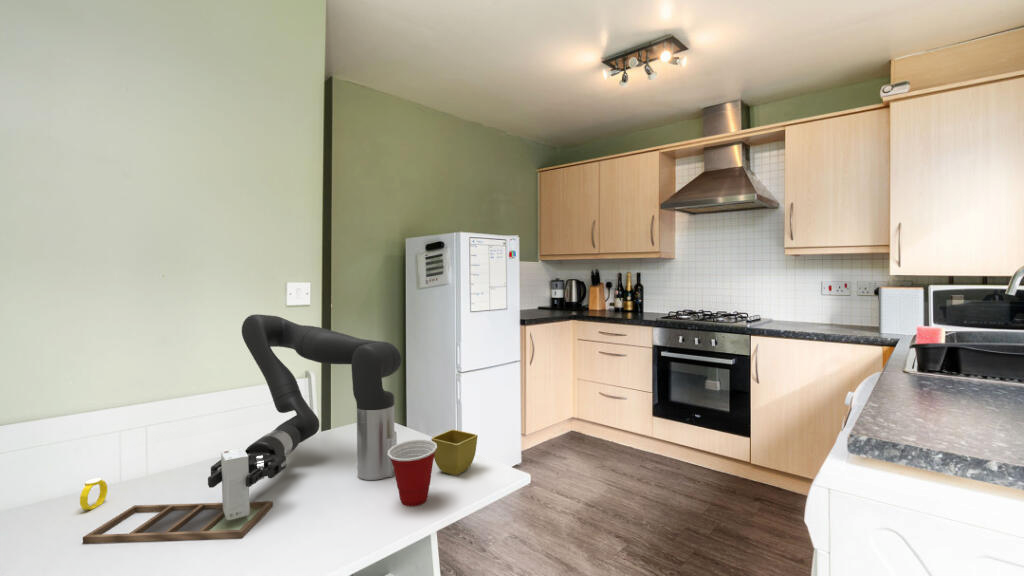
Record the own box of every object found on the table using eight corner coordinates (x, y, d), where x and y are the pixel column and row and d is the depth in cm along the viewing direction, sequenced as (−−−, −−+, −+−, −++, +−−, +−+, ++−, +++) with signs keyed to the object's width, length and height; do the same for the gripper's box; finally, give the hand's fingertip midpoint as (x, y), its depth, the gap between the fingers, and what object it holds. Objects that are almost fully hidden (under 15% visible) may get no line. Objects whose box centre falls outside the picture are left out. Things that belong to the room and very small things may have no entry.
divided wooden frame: (272, 506, 101) (272, 501, 101) (241, 538, 88) (241, 531, 88) (134, 511, 100) (134, 505, 100) (82, 543, 87) (82, 537, 87)
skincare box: (250, 515, 94) (250, 455, 93) (224, 522, 91) (224, 460, 91) (245, 503, 98) (245, 446, 98) (220, 509, 96) (220, 451, 95)
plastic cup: (378, 501, 103) (377, 447, 103) (418, 486, 111) (418, 435, 111) (406, 518, 95) (405, 460, 95) (447, 499, 103) (447, 446, 103)
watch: (91, 514, 99) (88, 487, 99) (76, 515, 99) (74, 488, 99) (111, 499, 105) (109, 473, 105) (98, 500, 105) (96, 474, 105)
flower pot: (479, 468, 121) (478, 434, 121) (457, 481, 113) (457, 444, 113) (452, 462, 125) (452, 429, 125) (430, 473, 118) (430, 438, 118)
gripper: (237, 436, 108) (191, 464, 92) (300, 435, 109) (265, 463, 92) (238, 467, 109) (192, 502, 92) (300, 466, 109) (266, 500, 93)
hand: (229, 482), depth 92 cm, fingers closed on skincare box, 6 cm apart
